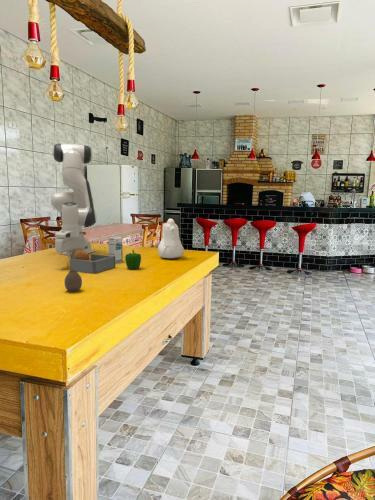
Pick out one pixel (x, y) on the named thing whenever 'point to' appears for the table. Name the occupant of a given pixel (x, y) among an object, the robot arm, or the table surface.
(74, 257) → the onion
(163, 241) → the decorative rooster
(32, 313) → the table surface
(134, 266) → the bell pepper
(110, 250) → the syrup box
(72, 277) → the vase
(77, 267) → the box
